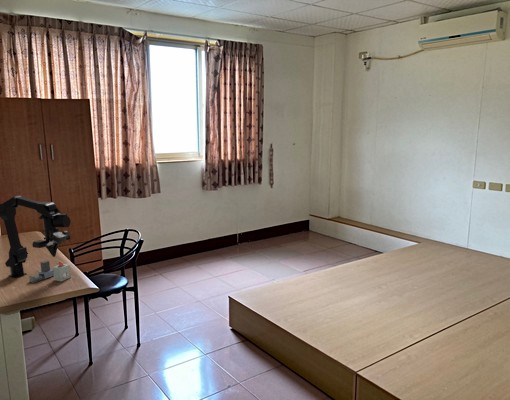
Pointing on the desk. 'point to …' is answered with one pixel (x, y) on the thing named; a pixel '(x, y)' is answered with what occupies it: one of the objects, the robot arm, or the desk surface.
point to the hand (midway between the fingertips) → (54, 256)
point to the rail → (37, 278)
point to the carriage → (46, 269)
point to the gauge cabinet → (61, 272)
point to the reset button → (60, 264)
